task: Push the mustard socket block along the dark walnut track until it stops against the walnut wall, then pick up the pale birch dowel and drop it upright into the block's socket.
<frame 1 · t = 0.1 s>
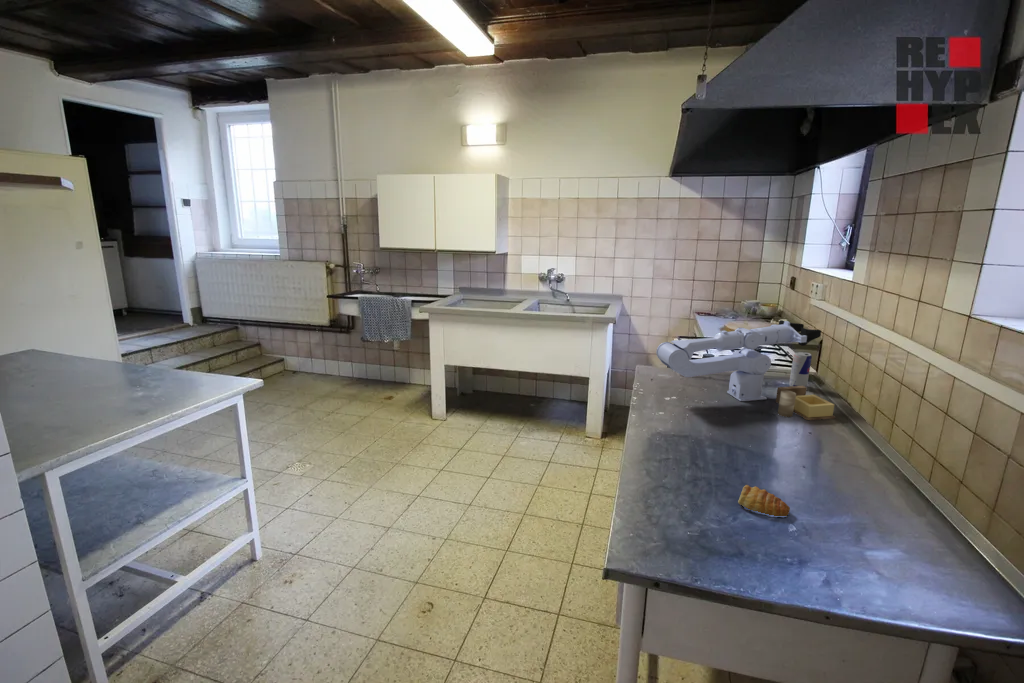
hand: (811, 330, 158), 22 cm above the table, tool horizontal, fingers open, 7 cm apart
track: (804, 409, 150), on the table
energy drink: (797, 387, 169), on the table
birch dowel: (785, 414, 147), on the table
socket block: (811, 405, 147), point 2 cm above the table, slide at 0.0 cm
pastry: (759, 508, 103), on the table
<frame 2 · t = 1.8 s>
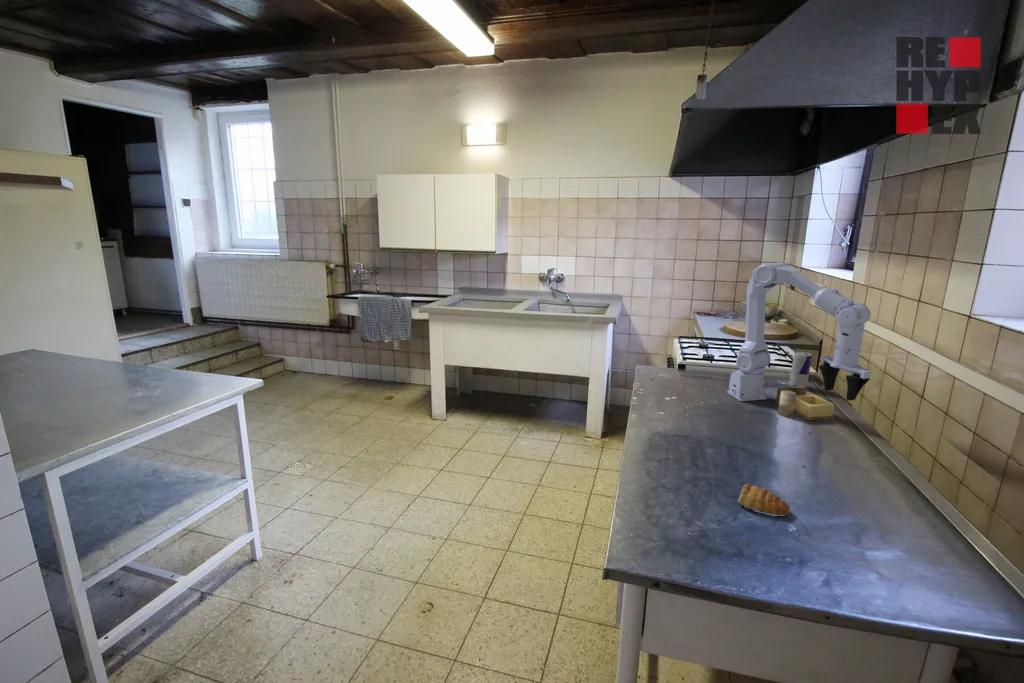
hand: (839, 394, 137), 10 cm above the table, tool pointing down, fingers open, 7 cm apart
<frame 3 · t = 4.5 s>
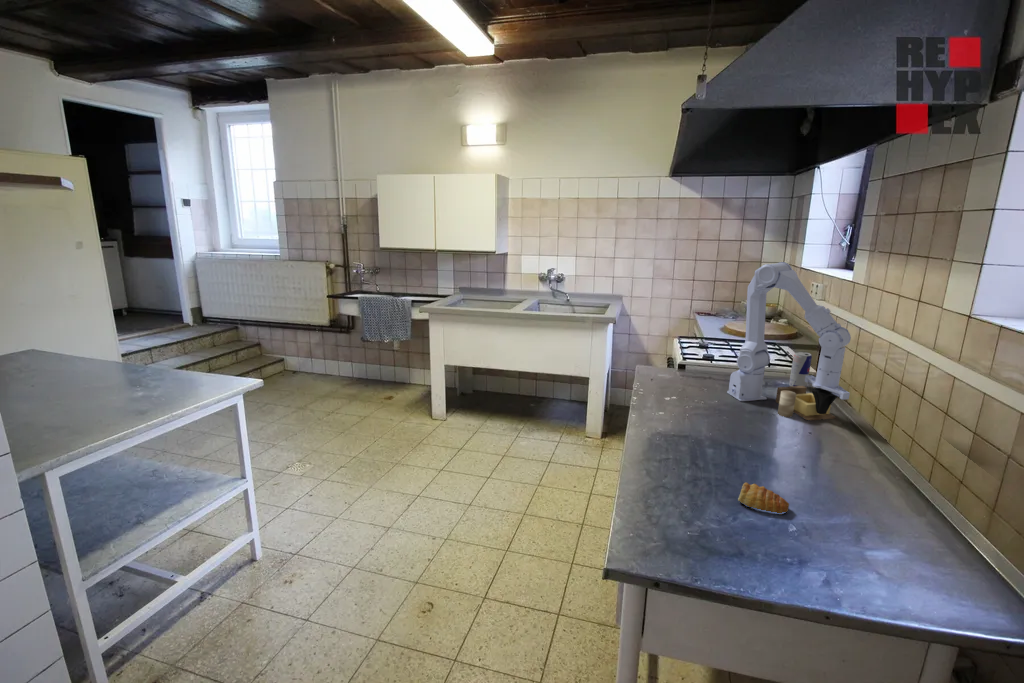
hand: (821, 413, 144), 2 cm above the table, tool pointing down, fingers closed
socket block: (808, 404, 148), point 2 cm above the table, slide at 1.2 cm, touching gripper
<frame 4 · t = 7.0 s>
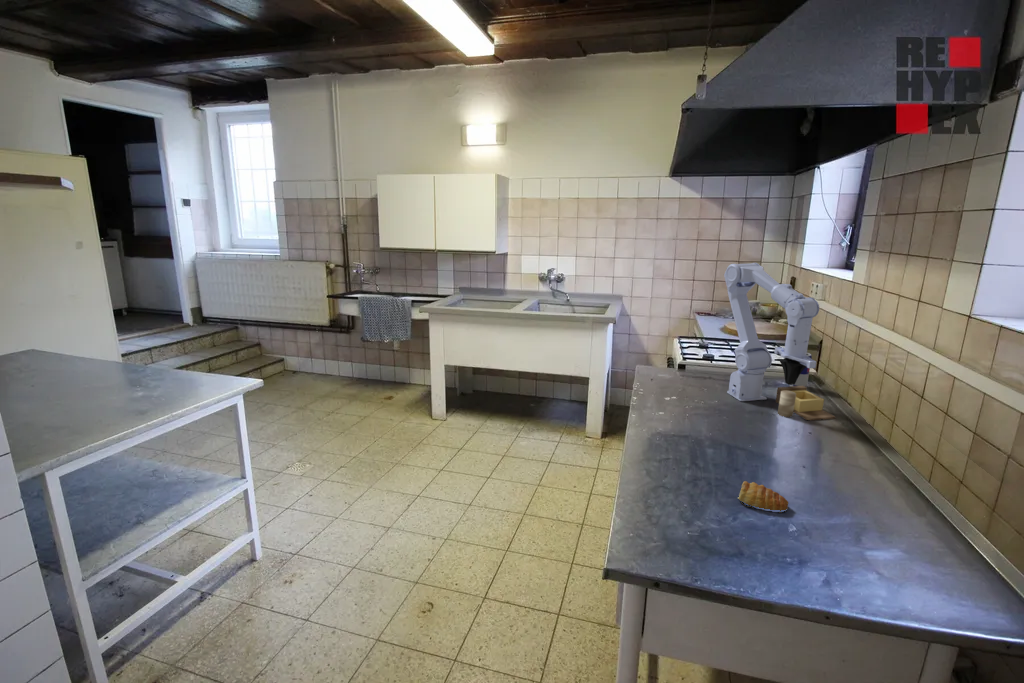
hand: (790, 383, 145), 10 cm above the table, tool pointing down, fingers closed
socket block: (801, 400, 151), point 2 cm above the table, slide at 4.0 cm, touching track
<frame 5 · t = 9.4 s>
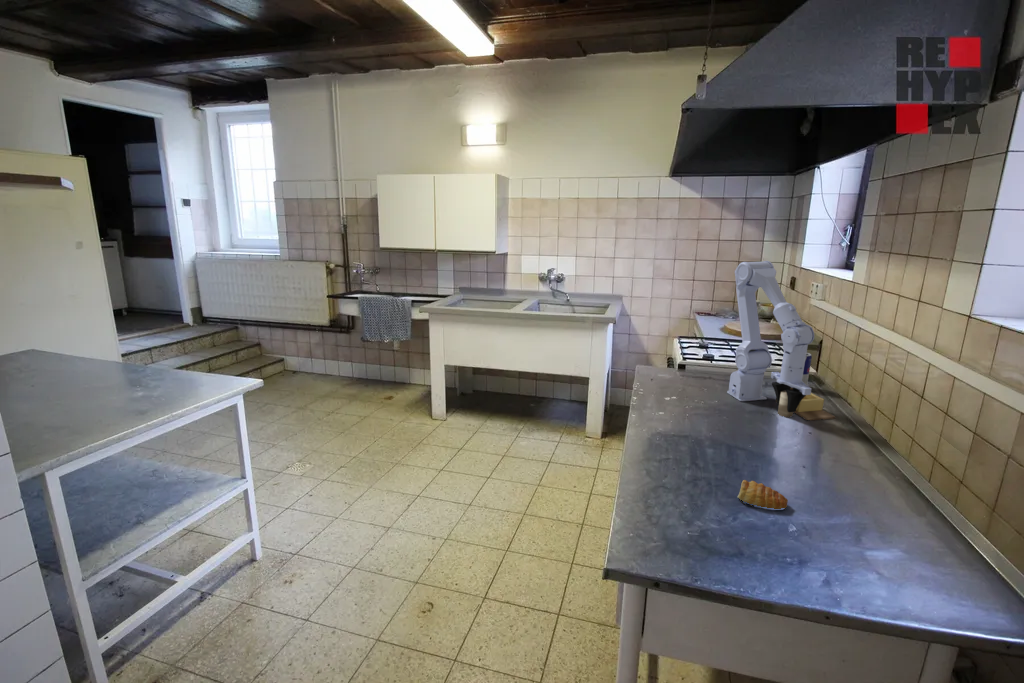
hand: (786, 408, 147), 2 cm above the table, tool pointing down, fingers closed on birch dowel, 4 cm apart
birch dowel: (785, 414, 147), on the table, touching gripper
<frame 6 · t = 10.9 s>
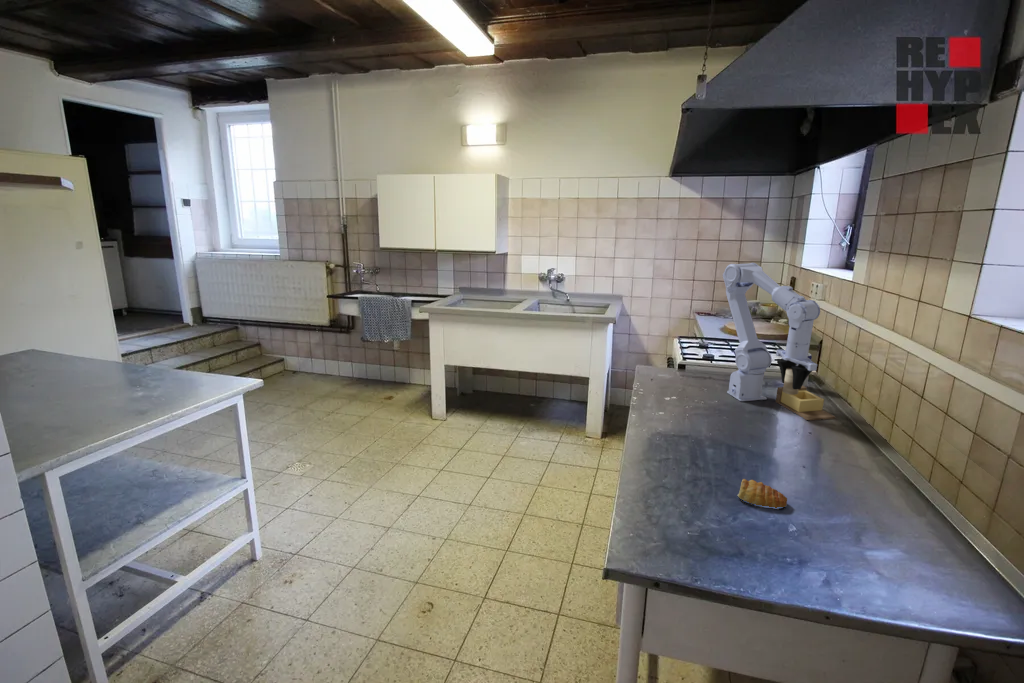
hand: (791, 385, 145), 9 cm above the table, tool pointing down, fingers closed on birch dowel, 4 cm apart
birch dowel: (790, 392, 146), point 7 cm above the table, touching gripper
when the fingers open (5 cm above the table, at t = 12.6 s): birch dowel drops 1 cm, resting on socket block.
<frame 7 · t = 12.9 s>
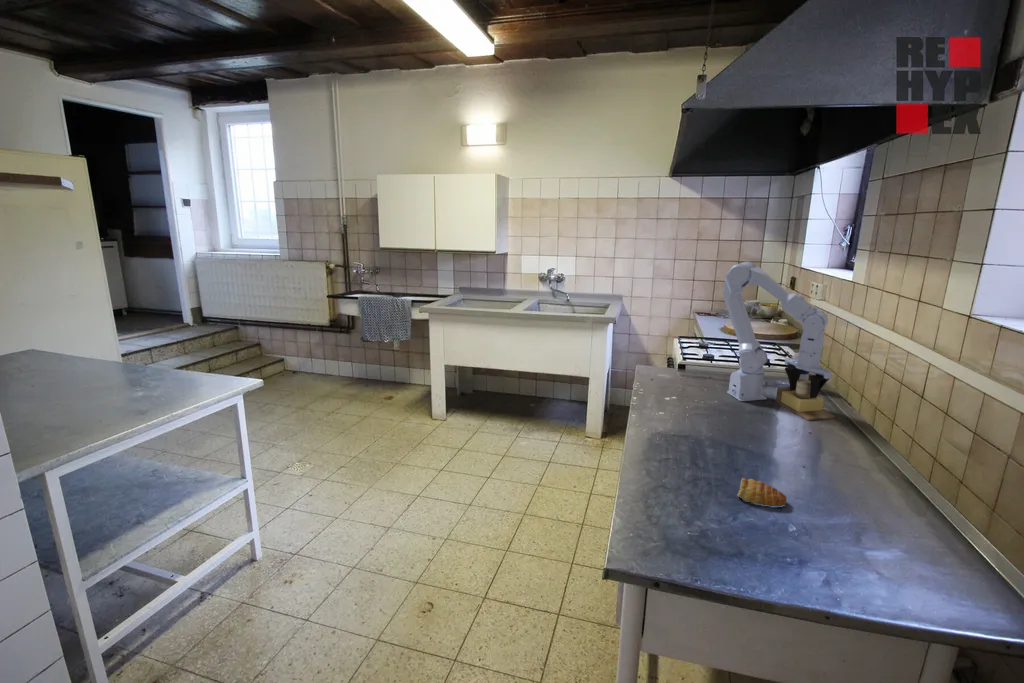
hand: (803, 393, 150), 5 cm above the table, tool pointing down, fingers open, 6 cm apart
birch dowel: (801, 402, 151), point 2 cm above the table, touching socket block
socket block: (801, 400, 151), point 2 cm above the table, slide at 4.0 cm, touching birch dowel
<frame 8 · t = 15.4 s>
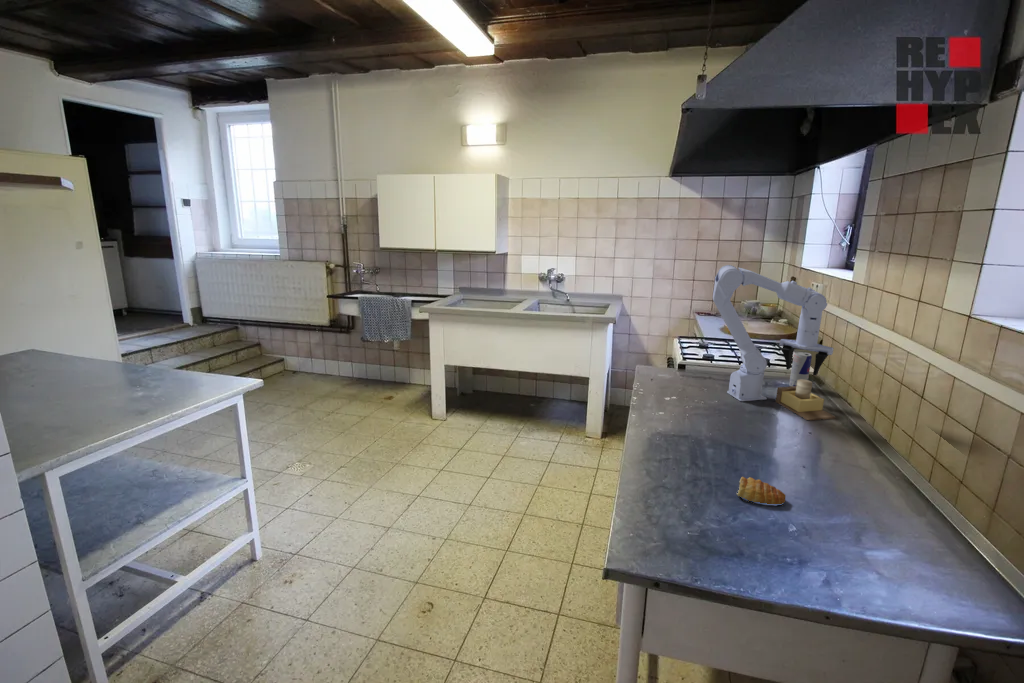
hand: (801, 371, 155), 10 cm above the table, tool pointing down, fingers open, 7 cm apart
at the end: socket block slide at 4.0 cm; birch dowel 0.0 cm from the target spot, point 1.7 cm above the table; birch dowel tilted 0° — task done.
